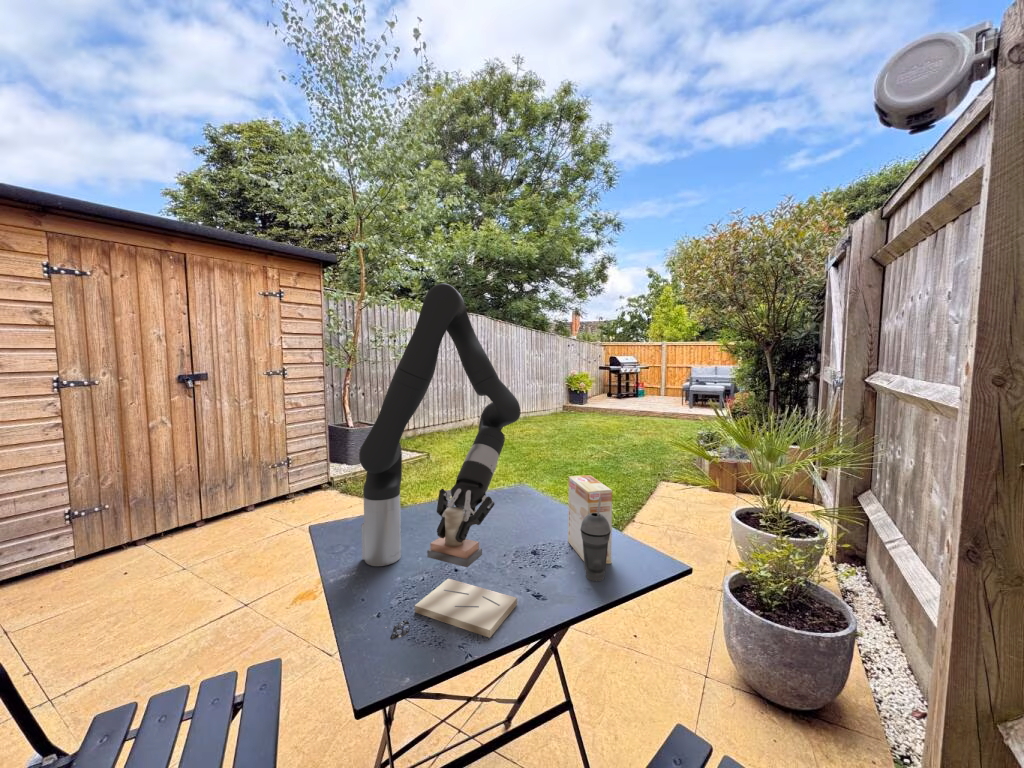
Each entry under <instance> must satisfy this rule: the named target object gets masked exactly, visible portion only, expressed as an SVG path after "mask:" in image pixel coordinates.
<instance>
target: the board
mask: <svg viewBox="0 0 1024 768" xmlns="http://www.w3.org/2000/svg"><path fill="white" fill-rule="evenodd" d="M517 605H518V597H517V596H511V595H508V594H505V593H501V592H498V591H493V590H490V589H487V588H484V587H480V586H477V585H472V584H469V583H465V582H463V581H459V580H454V579H452V578H447V579H446V580H444V581H443V582H442V583H441V584H439V585H438V586H437V587H436V588H435V589H433V590H432V591H431V592H429V594H428V593H427V595H426V596H424V597H423V598H422V599H421V600H420V601H419V602H417V603H416V604H414V613H416V614H419V615H422V616H424V617H428V618H430V619H433V620H435V621H439V622H442V623H444V624H445V623H446V624H447V625H451V626H453V627H456V628H459V629H463V630H466V631H469V632H471V633H474V634H477V635H480V636H483V637H486V638H491V637H492V636H493V635H494V634H495V632H496V631H497V630H498V629H499V628H500V626H501V625H502V624H503V623H504V622H505V620H507V618H508V616H509V615H510V614H511V613H512V612H513V610H514V609H515V608H516V606H517Z"/></svg>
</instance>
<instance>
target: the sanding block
mask: <svg viewBox="0 0 1024 768" xmlns="http://www.w3.org/2000/svg"><path fill="white" fill-rule="evenodd" d="M464 513H465V511H464V509H463V508H460V507H456V506H454V507H452V508H448V509H446V510H445V538H440V537H439V536H438V538H436V539H435V540H433V541H432V542H430V548H428V549H427V552H426V553H427V554H426V555H427V558H428V559H433V560H437V561H440V562H444V563H448V564H452V565H456V566H460V567H464V568H468V567H470V566H471V565H472V564H473V563H474V562H476V561H477V560H478V559H479V558H480V557H481V556H482V555H483V548H482V547H480V544H479V543H480V542H479V541H477V540H472V539H468V538H466V539H465V540H463V542H462V543H461V542H458V541H457V540H456V539H455V537H456V534H457V532H458V529H459V527H460V524H461V522H464V520H463V519H464Z"/></svg>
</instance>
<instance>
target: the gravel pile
mask: <svg viewBox="0 0 1024 768" xmlns="http://www.w3.org/2000/svg"><path fill="white" fill-rule="evenodd" d="M410 628H411V626H410V622H409V620H408V619H403V621H399V622H398V624H395V625H394V626H393V629H392V631H393V632H392V633H391V635H390V639H392V640H395V639H399V638H401V637H403V636H406V635H408V634H409V632H410V631H411V629H410ZM385 629H387V626H385Z"/></svg>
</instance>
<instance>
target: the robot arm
mask: <svg viewBox="0 0 1024 768" xmlns="http://www.w3.org/2000/svg"><path fill="white" fill-rule="evenodd" d="M419 312H420V313H419V316H418V319H417V322H416V325H415V328H414V330H413V333H412V335H411V337H410V339H409V341H408V343H407V345H406V347H405V349H404V352H403V353H402V357H401V359H400V360H399V362H398V365H397V367H396V369H395V371H394V374H393V376H392V378H391V381H390V383H389V386H388V389H387V392H386V394H385V397H384V399H383V402H382V405H381V408H380V411H379V414H378V416H377V418H376V420H375V422H374V423H373V425H372V427H371V429H370V431H369V433H368V435H367V437H366V438H365V440H364V441H363V443H362V445H361V447H360V448H359V453H358V457H359V458H358V459H359V463H360V465H361V467H362V468H363V470H365V471H366V479H365V482H364V484H363V488H362V489H363V492H362V493H363V523H362V524H361V525H360V526H361V530H360V531H361V560H363V561H364V562H365V564H367V565H368V566H372V567H385V566H388V565H392V564H394V563H396V562H398V561H400V559H401V557H402V534H401V533H402V530H401V527H402V526H401V523H402V522H401V521H402V520H401V483H402V479H403V478H402V475H403V473H402V471H403V470H402V468H403V464H402V463H403V454H402V453H403V452H402V445H401V443H400V442H401V438H402V436H403V434H404V431H405V429H406V427H407V425H408V423H409V421H410V420H411V418H412V417H413V416H414V414H415V413H416V411H417V410H418V408H419V406H420V405H421V403H422V401H423V400H424V397H425V396H426V394H427V392H428V389H429V387H430V385H431V382H432V380H433V378H434V374H435V372H436V371H435V370H436V367H437V362H438V357H439V349H440V346H441V343H442V340H443V338H444V335H445V334H446V332H447V333H448V335H449V336H450V338H451V340H452V342H453V344H454V347H455V348H456V350H457V351H456V352H457V353H458V357H459V359H460V362H461V365H462V367H463V370H464V372H465V374H466V376H467V378H468V380H469V382H470V384H471V386H472V388H473V390H474V392H475V393H476V394H477V395H478V396H480V397H483V396H486V397H487V398H488V399H489V400H490V401H491V403H489V404H487V405H486V406H485V407H484V409H483V411H482V412H481V415H480V419H479V425H478V431H477V434H476V436H475V438H474V441H473V442H472V445H471V447H470V449H469V450H468V452H467V454H466V455H465V459H464V460H463V463H462V465H461V468H460V469H459V472H458V475H457V476H456V481H455V484H454V485H453V486H452V487H451V489H448V490H445V489H444V488H441V489H440V490H439V492H438V499H437V504H436V513H437V514H438V515H439V517H441V520H440V522H439V524H438V527H437V529H436V534H437V536H438V538H439V537H440V538H445V510H446V509H448V508H452V507H460V508H463V509H464V519H463V520H464V522H461V524H460V527H459V529H458V532H457V534H456V537H455V539H456V540H457V541H458V542H461V543H462V542H463V540H465V539H467V537H468V534H469V531H470V528H471V527H472V526H474V525H477V526H479V525H481V524H482V522H483V521H484V520H485V519H486V517H487V516H488V514H489V513H490V512H491V510H492V509H493V507H494V506H495V505H496V504H495V502H494V500H493V499H492V497H490V496H487V495H486V493H487V491H488V490H489V487H490V484H491V483H492V482H491V481H492V479H493V476H494V474H495V472H496V468H497V466H498V461H499V458H500V455H501V453H502V450H503V448H504V445H505V442H506V437H505V434H504V433H503V432H502V430H503V428H505V427H506V426H509V425H511V424H514V423H516V422H517V421H518V420H519V418H520V417H521V406H520V404H519V401H518V399H517V398H516V397H515V394H513V393H512V391H510V390H509V388H508V387H507V386H506V385H505V384H504V383H503V382H502V381H501V380H500V378H499V375H498V374H497V372H496V370H495V367H494V366H493V364H492V362H491V361H490V358H489V357H488V355H487V353H486V351H485V349H484V347H483V345H482V344H481V342H480V341H479V338H478V337H477V335H476V333H475V330H474V328H473V326H472V323H471V319H470V317H469V313H468V311H467V307H466V305H465V300H464V298H463V296H462V294H461V293H460V291H458V290H457V289H456V288H455V287H454V286H452V285H451V284H448V283H443V282H442V283H441V282H440V283H437V284H435V285H434V286H432V287H431V288H429V290H428V291H427V292H426V295H425V297H424V300H423V303H422V305H421V309H420V311H419ZM450 498H451V499H450ZM478 506H479V507H478ZM477 507H478V508H477Z"/></svg>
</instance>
